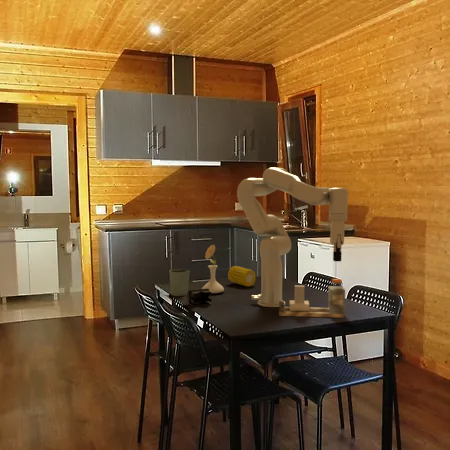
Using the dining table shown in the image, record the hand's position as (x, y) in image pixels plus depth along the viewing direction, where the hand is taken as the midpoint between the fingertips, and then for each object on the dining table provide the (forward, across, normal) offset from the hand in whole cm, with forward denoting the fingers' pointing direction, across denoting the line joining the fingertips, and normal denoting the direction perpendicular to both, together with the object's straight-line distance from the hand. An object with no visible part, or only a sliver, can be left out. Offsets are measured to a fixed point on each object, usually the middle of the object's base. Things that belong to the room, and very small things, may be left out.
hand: (337, 260), depth 216 cm
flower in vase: (+23, -38, -58) cm, 73 cm away
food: (+23, -61, -44) cm, 79 cm away
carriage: (+21, 0, -15) cm, 26 cm away
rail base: (+23, 0, -10) cm, 25 cm away
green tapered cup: (+23, -34, -74) cm, 84 cm away
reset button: (+9, 0, 0) cm, 9 cm away
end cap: (+23, -13, -61) cm, 66 cm away
